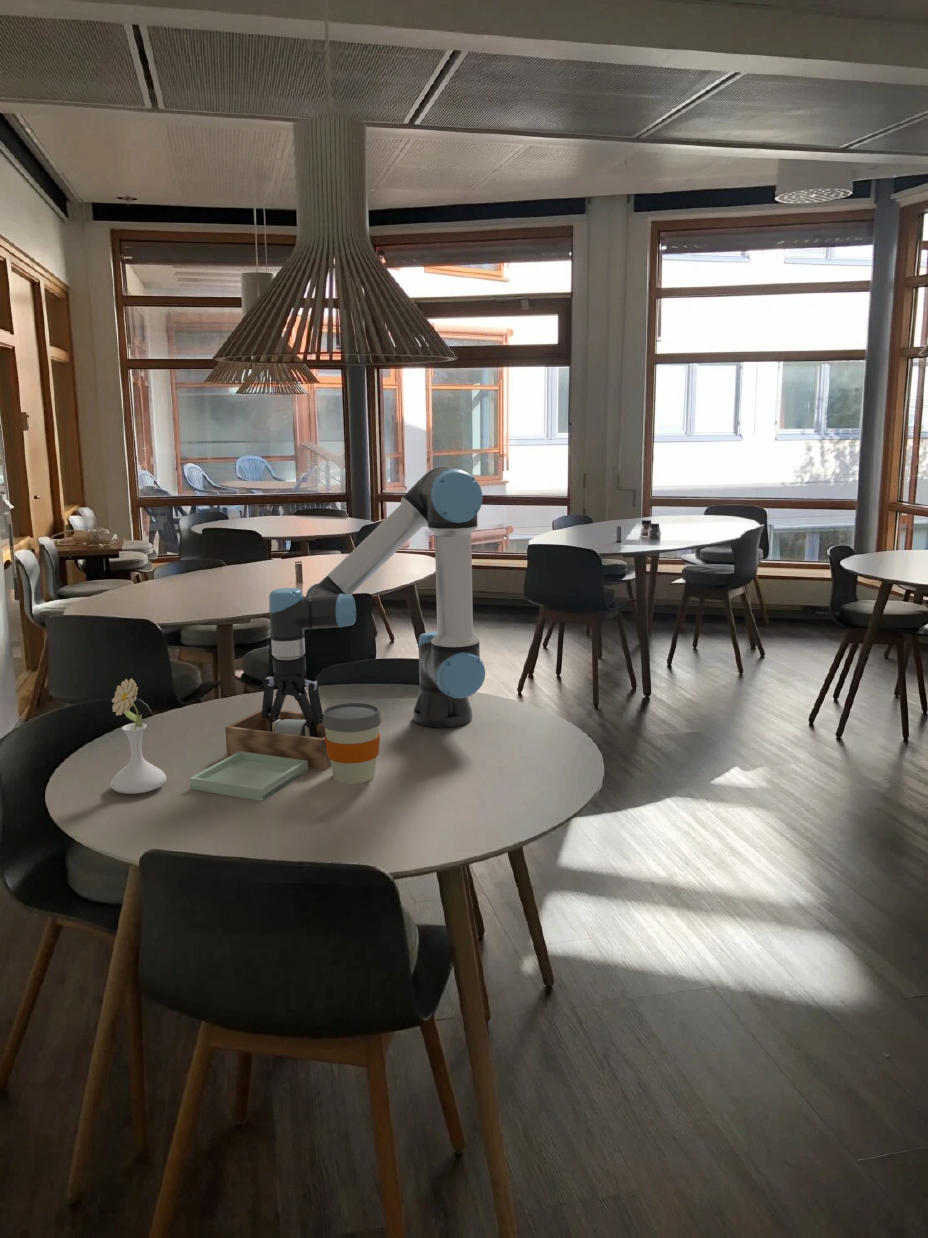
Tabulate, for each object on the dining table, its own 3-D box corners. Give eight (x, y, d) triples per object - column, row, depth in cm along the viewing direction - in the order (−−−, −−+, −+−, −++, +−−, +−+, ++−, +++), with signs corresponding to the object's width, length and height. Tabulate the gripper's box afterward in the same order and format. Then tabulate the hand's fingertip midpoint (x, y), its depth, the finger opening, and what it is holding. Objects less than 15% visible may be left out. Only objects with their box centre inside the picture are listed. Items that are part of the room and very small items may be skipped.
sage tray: (308, 771, 217) (307, 760, 217) (262, 801, 201) (261, 789, 200) (240, 761, 224) (239, 751, 223) (190, 789, 208) (189, 778, 207)
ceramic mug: (288, 743, 235) (286, 712, 233) (318, 746, 232) (316, 716, 230) (263, 758, 225) (261, 727, 224) (294, 762, 223) (292, 730, 221)
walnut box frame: (358, 747, 232) (357, 719, 231) (324, 770, 218) (323, 740, 216) (265, 735, 242) (264, 708, 241) (227, 756, 228) (225, 727, 226)
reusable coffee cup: (358, 762, 223) (356, 698, 220) (394, 776, 214) (392, 710, 211) (313, 776, 214) (310, 711, 211) (349, 791, 205) (346, 723, 202)
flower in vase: (109, 783, 212) (98, 671, 206) (163, 775, 216) (155, 665, 211) (113, 805, 200) (102, 687, 195) (171, 796, 204) (162, 680, 199)
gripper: (336, 655, 225) (341, 749, 229) (259, 648, 233) (265, 739, 237) (320, 663, 218) (325, 760, 223) (241, 656, 226) (247, 749, 231)
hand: (294, 749), depth 230 cm, fingers closed on ceramic mug, 8 cm apart
